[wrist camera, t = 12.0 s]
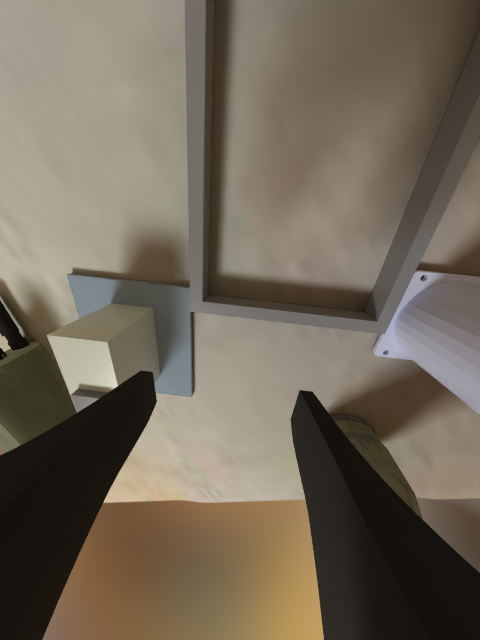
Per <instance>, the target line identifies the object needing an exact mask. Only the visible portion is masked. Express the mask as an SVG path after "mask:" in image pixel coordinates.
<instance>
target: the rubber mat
mask: <svg viewBox="0 0 480 640" xmlns="http://www.w3.org/2000/svg"><path fill="white" fill-rule="evenodd" d="M67 277H68V281H69V284H70V288H71V291H72V294H73V298H74V301H75V305H76V308H77V312H78V315H79V318H82V317H84V316H86V315H88V314H90V313H92V312H94V311H96V310H98V309H100V308H102V307H104V306H106V305H108V304H110V303H112V304H121V305H130V306H139V307H147V308H153V314H154V323H155V332H156V341H157V350H158V359H159V368H160V377H159V378H158V380H157V381H156V383H155V392H156V393H162V394H170V395H178V396H186V397H192V395H193V366H192V312H190V287H187V286H178V285H169V284H161V283H152V282H143V281H134V280H125V279H117V278H108V277H99V276H90V275H81V274H72V273H71V274H67Z"/></svg>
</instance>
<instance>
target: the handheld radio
mask: <svg viewBox="0 0 480 640" xmlns="http://www.w3.org/2000/svg"><path fill="white" fill-rule="evenodd" d="M0 334H1V335H2V336H5V338H6V339H7V340H8V345H9V346H10V347H11V349H9V350H7V351H5V352H4V351H3V350H2V349H1V348H0V445H1V446H2V447H3V448H4V449H5V450H6V451H7V452H8V451H10V450H12V449H14V448H16V447H18V446H20V445H22V444H24V443H26V442H28V441H29V440H31V439H33V438H35V437H37V436H38V435H40V434H42V433H44V432H46V431H47V430H49V429H51V428H53V427H54V426H56V425H58V424H60V423H61V422H63V421H65V420H66V419H68V418H69V417H71V416H73V415H74V414H76V413H77V411H76V408H75V406H74V403H73V401H72V398H71V396H70V393H69V391H68V388H67V385H66V383H65V381H64V379H63V378H62V376H61V375H60V373H59V371H58V370H57V368H56V367H55V365H54V363H53V362H52V360H51V359H50V357H49V355H48V354H47V352H46V351H45V349H44V348H43V346H42V345H41V344H40V343H39V342H28V341H27V340H26V338H25V337H22V335H21V334H20V332H19V329H18V327H17V326H16V324H15V323H14V321H13V320H12V318H11V316H10V315H9V313H8V312H7V310H6V309H5V307H4V305H3V304H2V302H1V301H0Z"/></svg>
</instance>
